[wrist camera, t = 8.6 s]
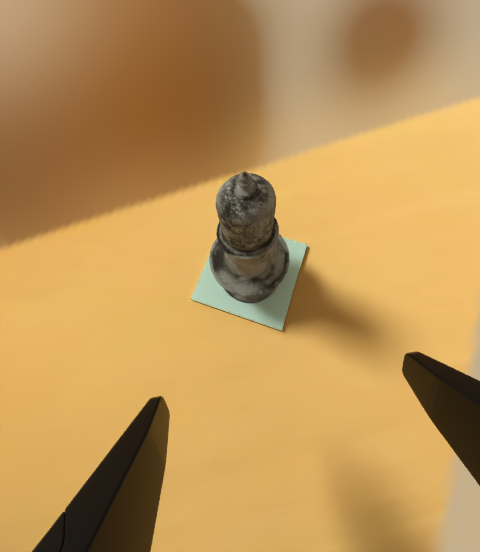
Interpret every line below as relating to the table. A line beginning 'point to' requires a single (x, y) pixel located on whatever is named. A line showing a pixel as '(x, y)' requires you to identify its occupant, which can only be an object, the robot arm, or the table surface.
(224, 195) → the grey stone tiered figure
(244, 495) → the table surface
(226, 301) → the plate
